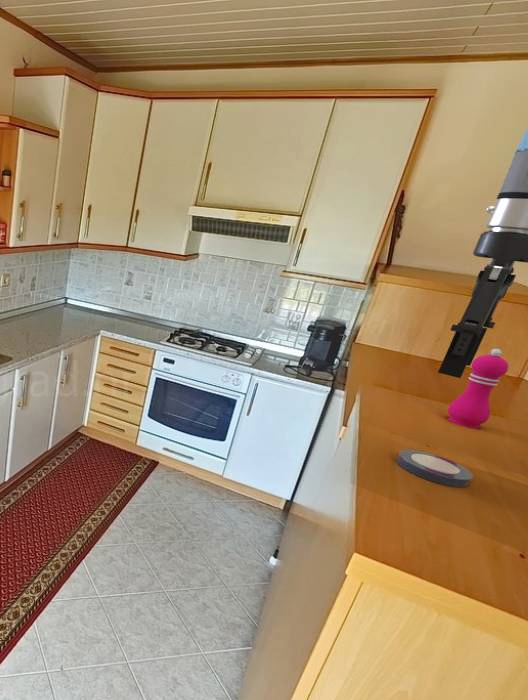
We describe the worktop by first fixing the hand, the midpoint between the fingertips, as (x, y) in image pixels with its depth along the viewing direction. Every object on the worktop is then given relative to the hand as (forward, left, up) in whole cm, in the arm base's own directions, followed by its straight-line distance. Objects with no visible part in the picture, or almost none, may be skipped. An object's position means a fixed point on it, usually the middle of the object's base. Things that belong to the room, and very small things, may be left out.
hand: (454, 369), depth 79 cm
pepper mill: (-4, -47, -21) cm, 52 cm away
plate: (-3, -11, -21) cm, 24 cm away
